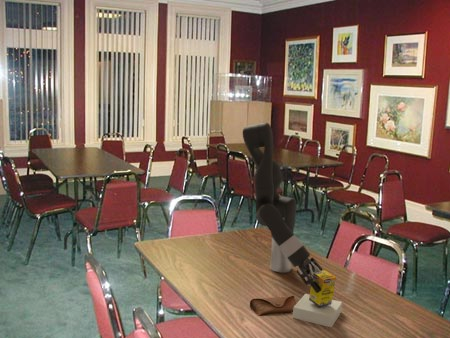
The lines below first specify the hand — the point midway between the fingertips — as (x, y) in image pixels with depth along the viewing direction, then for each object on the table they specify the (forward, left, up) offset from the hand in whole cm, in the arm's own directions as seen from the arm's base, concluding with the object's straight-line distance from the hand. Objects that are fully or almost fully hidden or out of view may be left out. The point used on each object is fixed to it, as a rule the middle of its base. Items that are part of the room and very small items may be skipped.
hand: (322, 287), depth 182 cm
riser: (0, -1, -11) cm, 11 cm away
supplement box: (0, -1, -6) cm, 6 cm away
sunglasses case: (+3, -16, -11) cm, 20 cm away
